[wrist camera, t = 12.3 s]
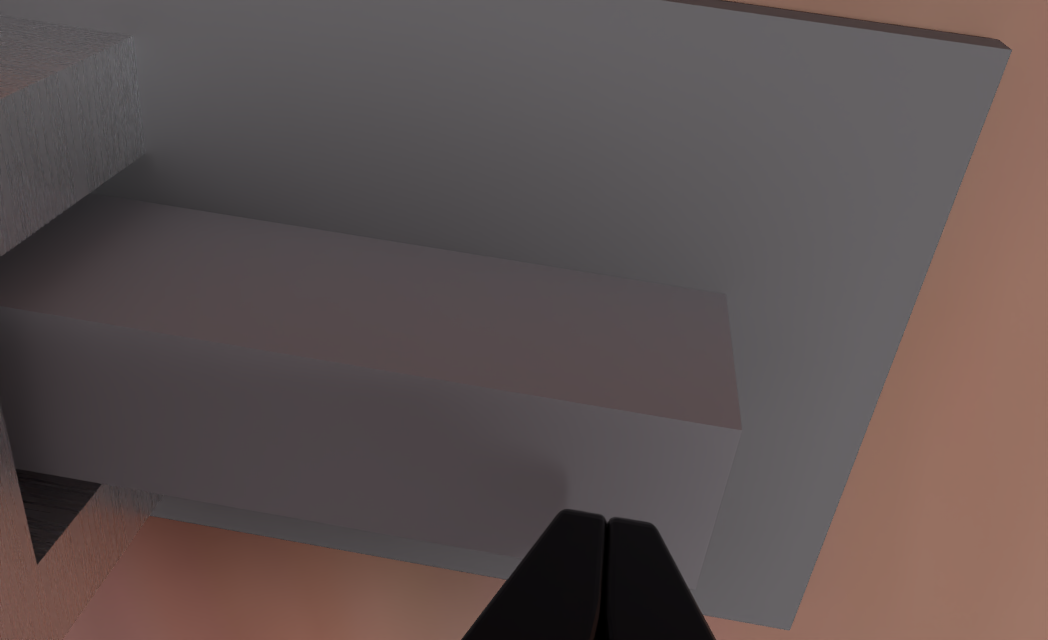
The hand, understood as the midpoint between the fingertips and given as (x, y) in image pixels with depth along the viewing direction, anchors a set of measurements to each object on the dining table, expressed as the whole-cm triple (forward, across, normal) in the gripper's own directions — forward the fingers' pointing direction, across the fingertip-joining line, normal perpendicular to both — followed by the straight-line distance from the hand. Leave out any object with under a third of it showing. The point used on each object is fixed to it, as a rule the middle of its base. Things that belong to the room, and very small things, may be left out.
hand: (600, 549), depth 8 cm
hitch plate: (+3, +6, 0) cm, 7 cm away
